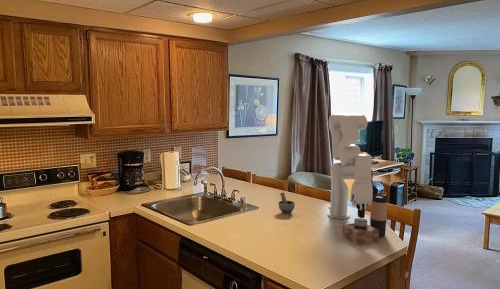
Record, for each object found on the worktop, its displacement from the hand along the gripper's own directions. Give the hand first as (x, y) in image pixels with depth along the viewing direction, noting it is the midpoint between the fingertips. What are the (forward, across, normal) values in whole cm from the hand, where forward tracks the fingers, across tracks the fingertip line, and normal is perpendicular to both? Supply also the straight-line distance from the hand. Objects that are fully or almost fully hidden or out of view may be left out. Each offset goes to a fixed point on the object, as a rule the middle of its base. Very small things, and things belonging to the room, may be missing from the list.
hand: (361, 217), depth 174 cm
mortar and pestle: (+11, +15, -50) cm, 53 cm away
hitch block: (+11, 0, 0) cm, 11 cm away
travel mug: (+11, -12, -2) cm, 17 cm away
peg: (+11, 0, 0) cm, 11 cm away
